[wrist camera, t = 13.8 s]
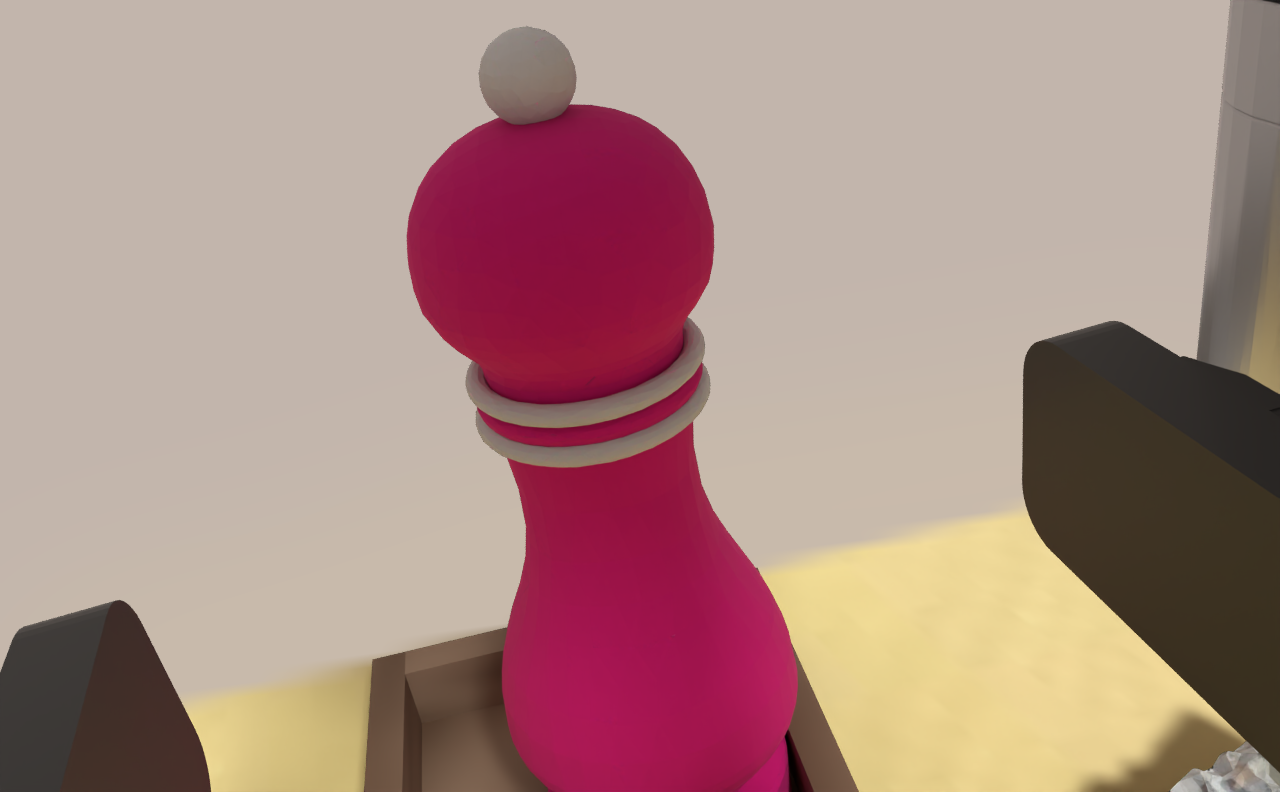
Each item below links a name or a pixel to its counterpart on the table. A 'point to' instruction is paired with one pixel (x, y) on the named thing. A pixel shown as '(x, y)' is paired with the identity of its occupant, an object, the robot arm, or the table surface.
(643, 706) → the pepper mill
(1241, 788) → the egg carton
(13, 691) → the robot arm
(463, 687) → the tray
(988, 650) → the table surface
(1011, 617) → the table surface
